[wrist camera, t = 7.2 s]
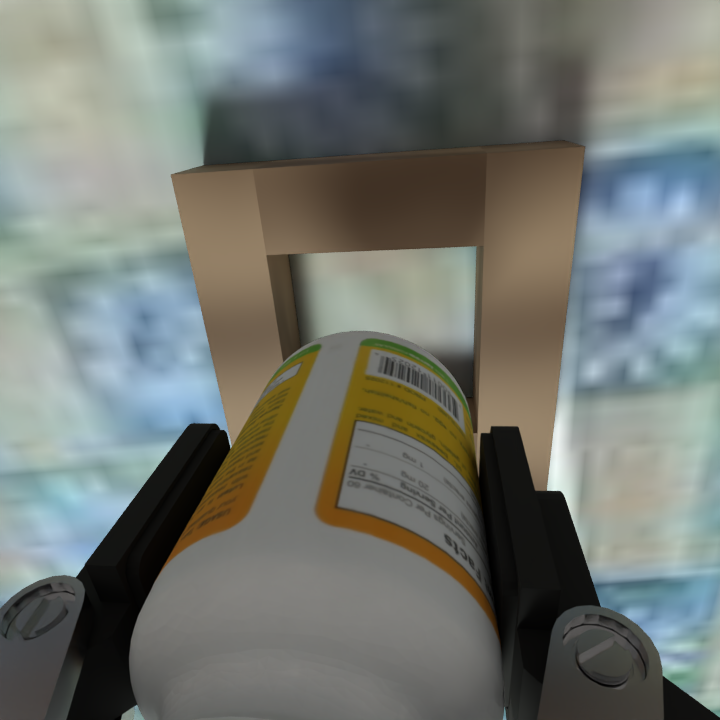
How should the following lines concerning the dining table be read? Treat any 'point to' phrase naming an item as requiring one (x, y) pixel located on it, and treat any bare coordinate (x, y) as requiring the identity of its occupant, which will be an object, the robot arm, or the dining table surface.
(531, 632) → the robot arm
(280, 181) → the frame
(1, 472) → the dining table surface
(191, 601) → the supplement bottle
